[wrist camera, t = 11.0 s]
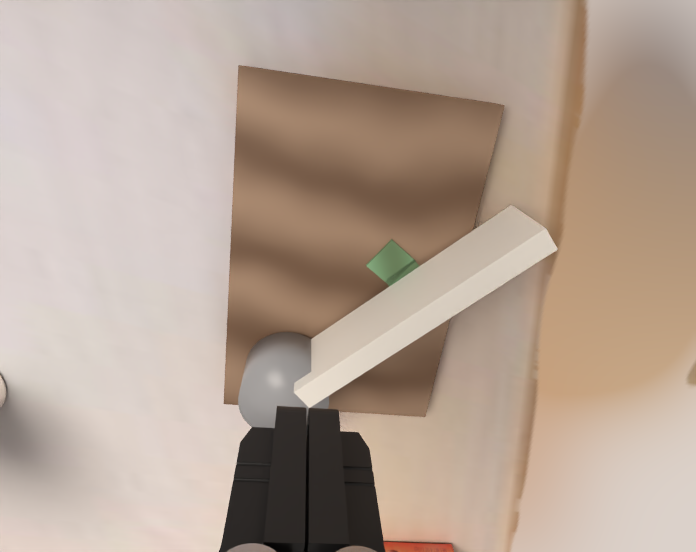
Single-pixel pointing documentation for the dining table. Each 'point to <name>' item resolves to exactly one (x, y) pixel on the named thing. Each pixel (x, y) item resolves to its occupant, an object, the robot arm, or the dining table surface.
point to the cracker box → (417, 547)
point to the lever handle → (388, 319)
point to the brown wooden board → (346, 214)
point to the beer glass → (2, 391)
